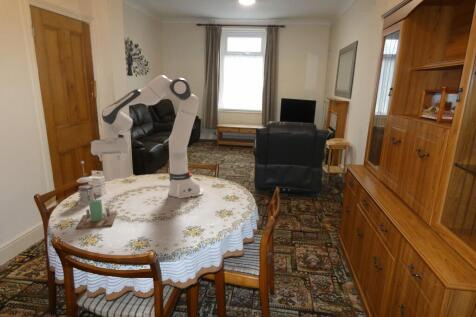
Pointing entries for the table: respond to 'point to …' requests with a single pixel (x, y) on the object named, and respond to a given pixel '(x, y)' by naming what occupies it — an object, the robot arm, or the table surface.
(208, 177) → the table surface
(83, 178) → the french press
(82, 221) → the standoff cradle
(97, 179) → the ink cartridge box
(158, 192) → the table surface
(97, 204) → the green rectangular block
